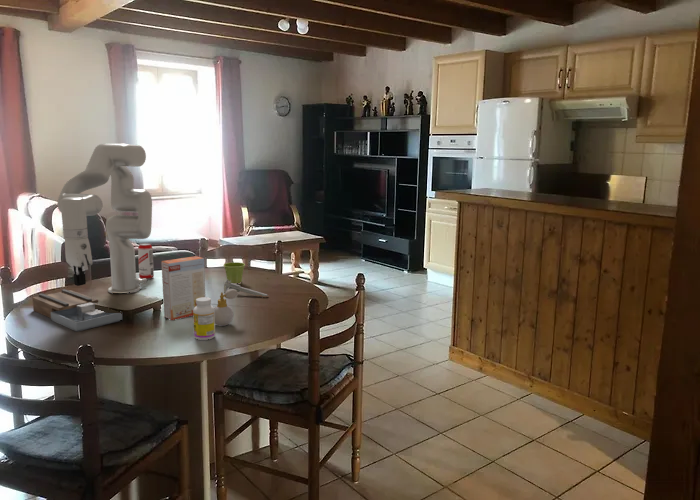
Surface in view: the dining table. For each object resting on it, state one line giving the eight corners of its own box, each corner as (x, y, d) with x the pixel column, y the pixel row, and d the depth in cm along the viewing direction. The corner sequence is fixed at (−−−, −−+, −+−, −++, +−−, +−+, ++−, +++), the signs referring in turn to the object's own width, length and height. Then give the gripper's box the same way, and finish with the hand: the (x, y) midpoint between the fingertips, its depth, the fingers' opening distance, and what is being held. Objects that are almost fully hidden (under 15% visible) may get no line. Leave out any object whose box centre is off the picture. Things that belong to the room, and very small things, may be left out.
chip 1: (90, 302, 196) (95, 303, 195) (91, 316, 197) (96, 317, 196) (76, 305, 192) (81, 307, 191) (77, 319, 193) (82, 321, 191)
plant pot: (242, 286, 245) (242, 267, 243) (221, 285, 245) (221, 266, 243) (247, 281, 254) (246, 262, 252) (226, 280, 254) (226, 262, 252)
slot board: (71, 302, 214) (70, 288, 213) (98, 313, 202) (97, 297, 201) (33, 310, 203) (32, 295, 202) (59, 322, 191) (58, 305, 190)
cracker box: (198, 309, 209) (196, 255, 205) (206, 313, 205) (205, 257, 201) (163, 317, 199) (160, 260, 196) (171, 321, 195) (168, 262, 191)
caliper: (223, 294, 232) (223, 279, 231) (225, 293, 233) (224, 279, 232) (269, 298, 227) (269, 283, 226) (270, 298, 228) (270, 283, 227)
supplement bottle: (196, 333, 183) (194, 296, 181) (216, 333, 184) (215, 296, 181) (192, 341, 176) (190, 301, 174) (213, 340, 177) (212, 301, 175)
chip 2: (105, 311, 193) (105, 320, 193) (96, 309, 195) (97, 317, 196) (92, 315, 188) (92, 323, 189) (83, 312, 191) (84, 320, 192)
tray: (95, 310, 205) (95, 302, 205) (122, 320, 195) (122, 312, 194) (51, 320, 193) (50, 312, 192) (77, 331, 182) (76, 323, 182)
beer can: (149, 280, 251) (147, 245, 248) (136, 279, 252) (134, 244, 249) (156, 277, 257) (155, 243, 254) (144, 276, 258) (142, 242, 255)
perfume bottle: (207, 326, 190) (206, 292, 188) (221, 318, 199) (220, 286, 197) (227, 329, 188) (226, 295, 186) (240, 321, 197) (239, 288, 195)
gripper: (97, 234, 189) (101, 286, 193) (75, 228, 198) (80, 278, 202) (75, 238, 183) (80, 291, 188) (54, 231, 192) (59, 282, 196)
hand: (80, 284), depth 195 cm, fingers closed
